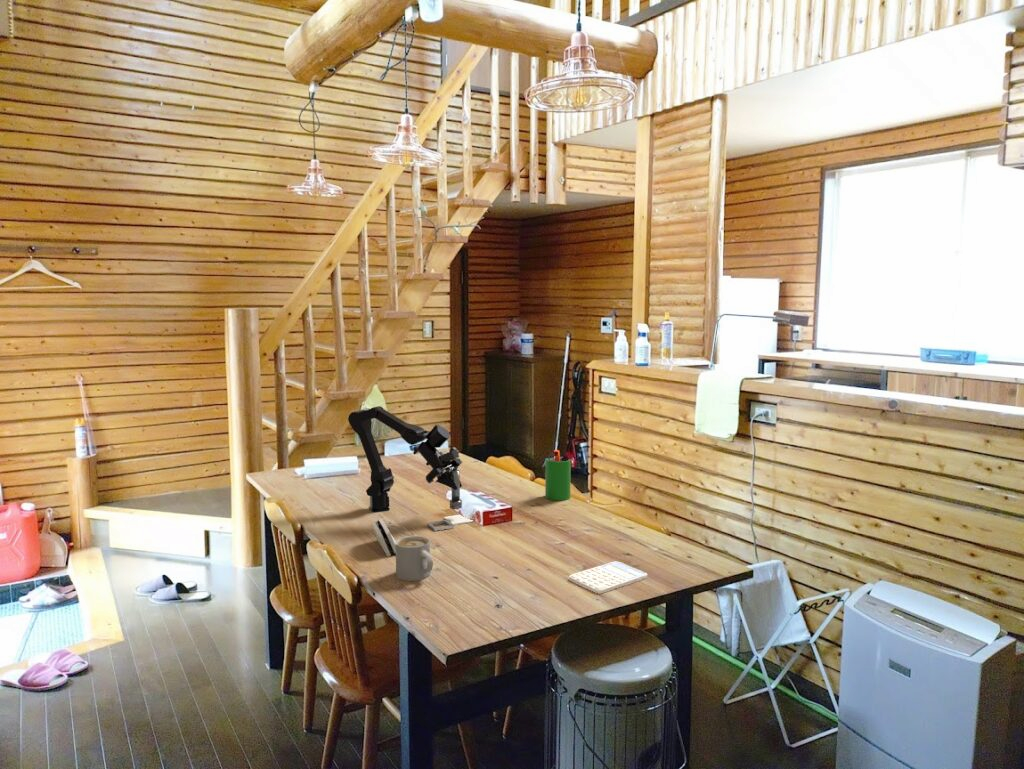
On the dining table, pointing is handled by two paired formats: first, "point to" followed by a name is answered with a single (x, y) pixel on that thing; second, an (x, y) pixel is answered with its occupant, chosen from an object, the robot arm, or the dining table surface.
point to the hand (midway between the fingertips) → (458, 488)
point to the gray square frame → (431, 524)
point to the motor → (557, 478)
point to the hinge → (383, 533)
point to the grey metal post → (456, 491)
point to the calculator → (607, 577)
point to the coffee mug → (413, 558)
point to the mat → (457, 519)
